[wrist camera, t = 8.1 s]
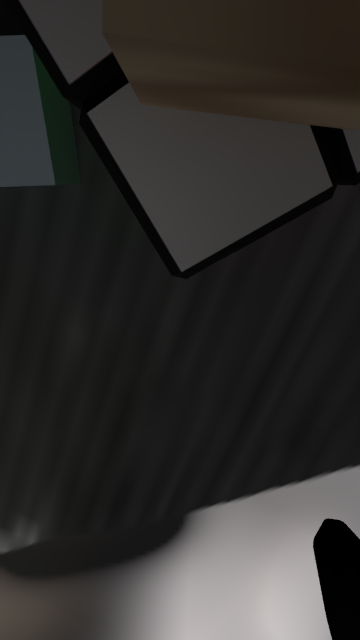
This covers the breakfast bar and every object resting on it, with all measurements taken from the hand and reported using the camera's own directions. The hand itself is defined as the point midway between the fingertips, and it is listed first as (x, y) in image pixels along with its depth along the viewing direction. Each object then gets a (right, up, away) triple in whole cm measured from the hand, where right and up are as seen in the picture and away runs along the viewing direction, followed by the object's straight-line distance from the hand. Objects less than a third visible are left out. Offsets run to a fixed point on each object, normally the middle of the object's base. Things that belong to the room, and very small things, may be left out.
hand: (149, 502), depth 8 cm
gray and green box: (-7, +14, +8) cm, 18 cm away
